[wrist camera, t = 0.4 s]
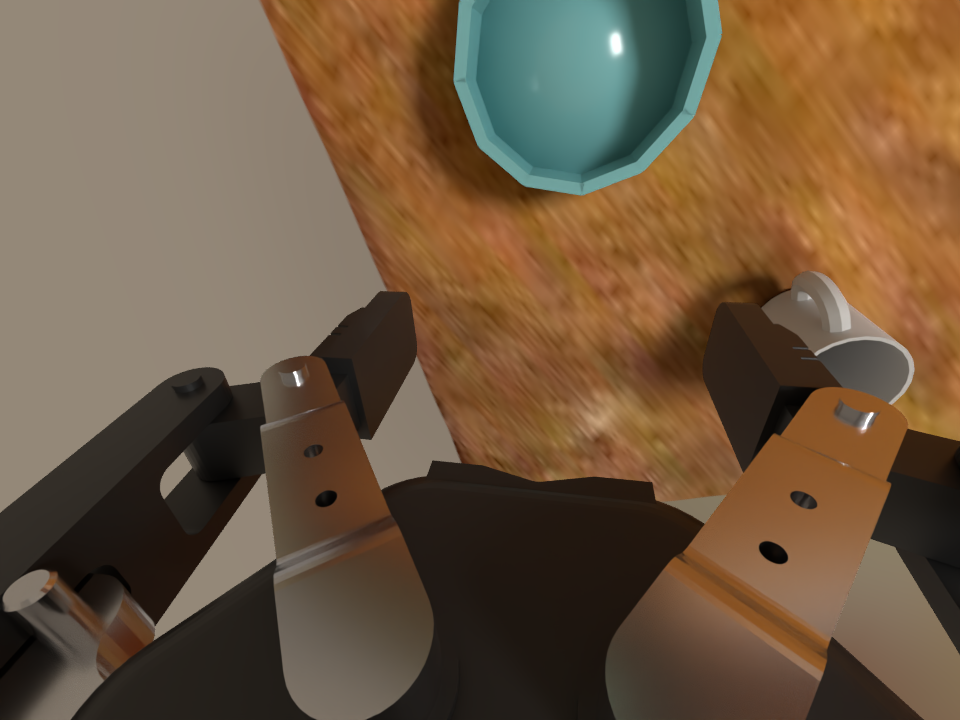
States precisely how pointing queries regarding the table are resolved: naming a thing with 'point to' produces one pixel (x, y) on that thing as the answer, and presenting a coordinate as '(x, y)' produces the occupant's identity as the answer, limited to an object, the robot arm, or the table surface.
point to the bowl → (581, 83)
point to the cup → (842, 337)
